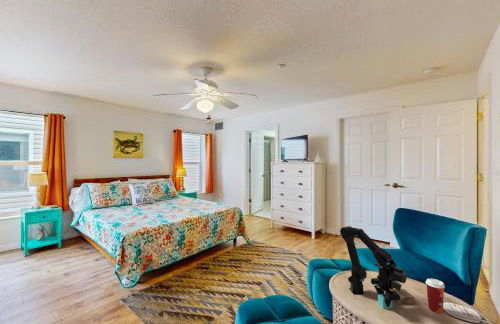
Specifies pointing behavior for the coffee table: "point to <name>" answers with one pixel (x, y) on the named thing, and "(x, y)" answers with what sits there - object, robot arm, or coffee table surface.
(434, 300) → the coffee cup
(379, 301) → the teal cube
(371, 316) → the coffee table surface
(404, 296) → the walnut block
